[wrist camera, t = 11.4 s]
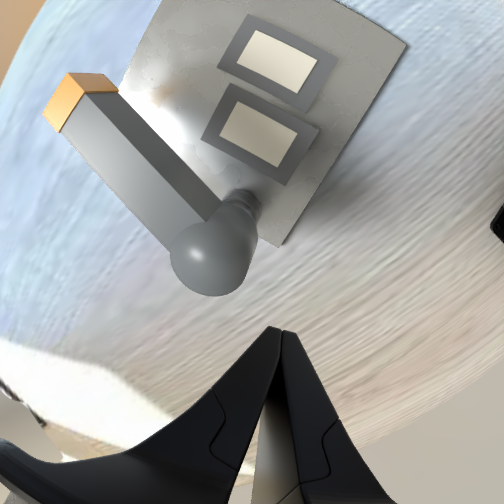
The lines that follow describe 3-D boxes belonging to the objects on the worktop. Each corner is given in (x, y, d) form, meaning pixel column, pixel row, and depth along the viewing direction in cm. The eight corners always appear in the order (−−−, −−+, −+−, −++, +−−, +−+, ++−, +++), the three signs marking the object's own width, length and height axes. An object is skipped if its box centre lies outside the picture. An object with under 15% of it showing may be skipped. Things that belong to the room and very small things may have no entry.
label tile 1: (338, 59, 16) (339, 58, 15) (305, 113, 18) (305, 113, 17) (249, 15, 15) (247, 13, 15) (218, 68, 17) (215, 67, 17)
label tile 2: (318, 130, 18) (319, 131, 17) (285, 184, 20) (285, 186, 19) (231, 83, 18) (229, 82, 17) (202, 138, 19) (199, 139, 19)
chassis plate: (404, 45, 15) (428, 32, 11) (276, 250, 22) (268, 282, 18) (196, -48, 14) (173, -75, 10) (98, 151, 21) (60, 163, 17)
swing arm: (272, 238, 17) (264, 268, 14) (224, 275, 18) (209, 308, 15) (108, 67, 14) (71, 64, 11) (74, 115, 15) (36, 121, 13)
